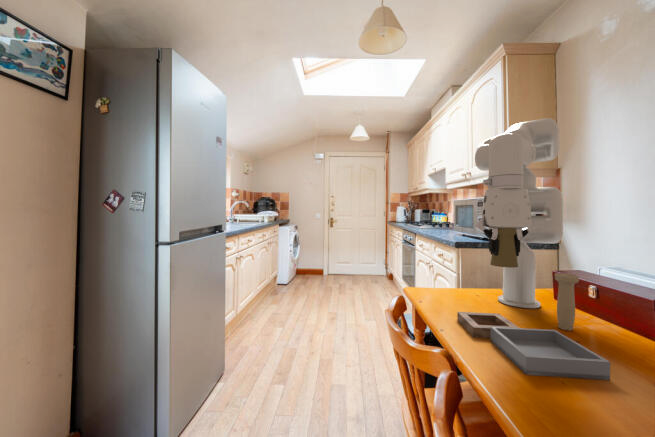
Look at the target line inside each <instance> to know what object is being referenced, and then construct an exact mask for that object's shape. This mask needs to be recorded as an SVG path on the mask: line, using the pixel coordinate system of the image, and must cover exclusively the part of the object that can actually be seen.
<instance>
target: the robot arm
mask: <svg viewBox="0 0 655 437" xmlns="http://www.w3.org/2000/svg"><path fill="white" fill-rule="evenodd" d="M559 152H560V129H559V125H558V123H557V121H556V120H555V119H554V118H550V117H548V118H547V117H546V118H539V119H535V120H528V121H522V122H519V123H515V124H513V125H511V126H510V127H508V128H507V129H506V131H505V132H504V133H501V134H497V135H496V136H493V137H490V138H487V139H485V140H483V141H482V142H481V143H479V145H478V147H477V149H476V151H475V153H474V163H475V166H476V168H478V170H480V171H483V172H484V171H485V172H486V171H487V172H488V177H487V179H483V180H482V185H483V186H487V188H488V189H485V192H484V195H483V196H484V197H483V200H482V201H483V202H482V210H481V217H480V219H479V220H478V222H477V223H476V224H475V226H474V228H475V229H476V230H478V231H479V232H481V233H482V234H484V236H485V237H486V238H487V239H488V251H489V253H490V255H492V254H494V255H495V256H497V255H498V251H499V240H497V235H498V228H516V229H517V230H516V234H515V235H514V240H515V249H516V256H517V262H518V267H516V268H509V267H502V268H503V270H502V272H503V273H502V274H503V276H502V279H503V280H502V288H501V291H502V294H501V295H498V296H497V300H498V301H499V302H500V303H502V304H504V305H506V306H511V307H515V308H522V309H523V308H524V309H538V308H540V307H541V305H542V304H541V303H542V302H540V301H538V300H537V299H536V263H537V262H536V258H537V256H536V254H535V252H534V251H533V249H532V248H531V247H529V245H528V244H532V243H533V244H549V245H550V244H558V243H560V242H561V240H562V238H563V234H564V232H563V230H564V216H563V214H564V213H563V212H564V211H563V210H564V209H563V208H564V207H563V206H564V204H563V194H562V192H561V190H560V189H559V188H557V187H555V186H541V187H539V186H537V176H536V174H535V173H534V171H532V169H530V168H528V167H529V166H530V165H531V164H532V163H540V162H541V163H543V162H550V161H553V160H555V159H557V157H558V155H559Z"/></svg>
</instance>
